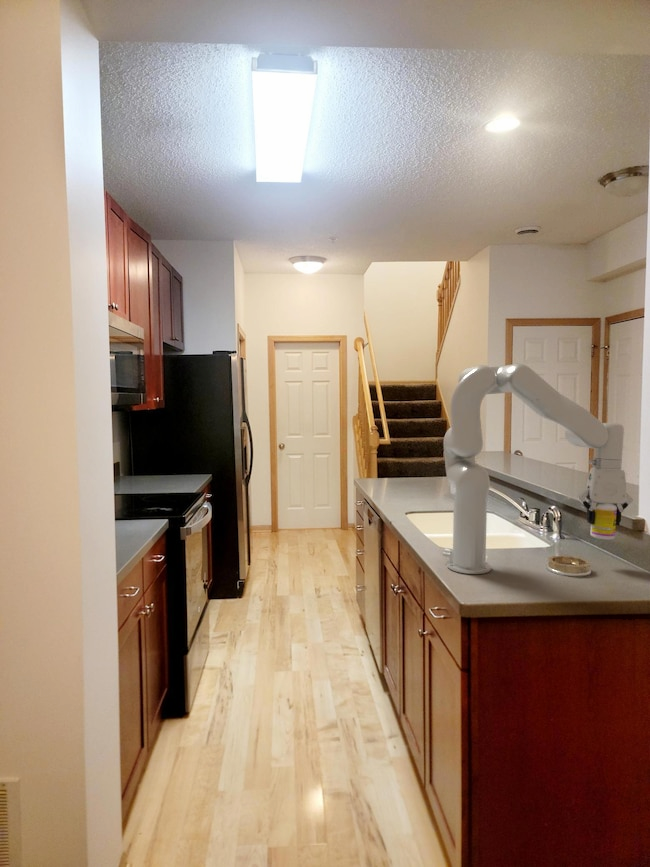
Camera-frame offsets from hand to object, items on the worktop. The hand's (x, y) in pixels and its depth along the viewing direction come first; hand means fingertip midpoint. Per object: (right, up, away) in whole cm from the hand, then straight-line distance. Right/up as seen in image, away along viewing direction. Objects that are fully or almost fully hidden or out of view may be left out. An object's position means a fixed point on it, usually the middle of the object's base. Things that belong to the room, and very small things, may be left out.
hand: (603, 523), depth 164 cm
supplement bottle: (0, -4, 0) cm, 4 cm away
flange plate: (-12, -13, -2) cm, 18 cm away
